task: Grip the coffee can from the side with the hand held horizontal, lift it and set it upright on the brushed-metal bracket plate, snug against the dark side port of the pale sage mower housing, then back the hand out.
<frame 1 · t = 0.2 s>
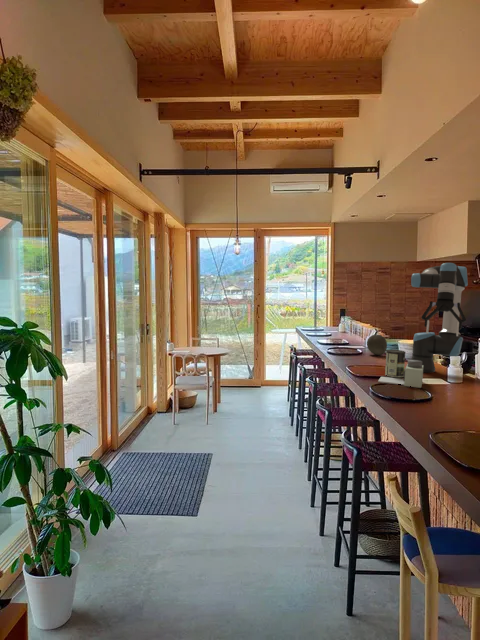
hand: (441, 334, 221), 27 cm above the bar counter, tool tilted 15°, fingers open, 13 cm apart
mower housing: (405, 382, 235), on the bar counter
coffee can: (394, 375, 253), on the bar counter
cantaloupe: (376, 355, 326), on the bar counter
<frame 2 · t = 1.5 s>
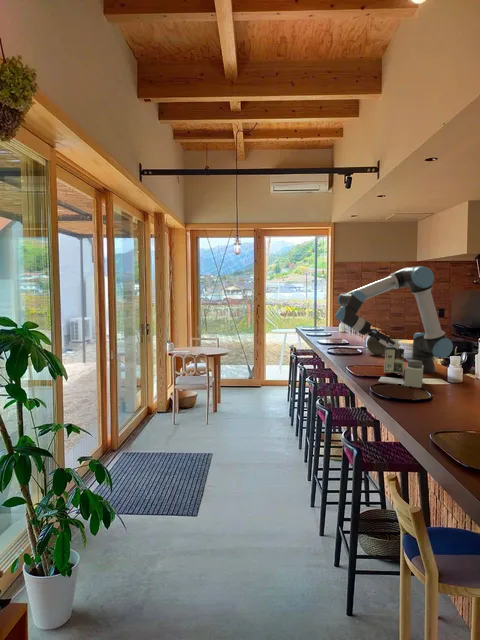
hand: (394, 346, 246), 17 cm above the bar counter, tool tilted 60°, fingers open, 13 cm apart
coffee can: (392, 373, 254), point 1 cm above the bar counter, touching gripper
everything else where it was.
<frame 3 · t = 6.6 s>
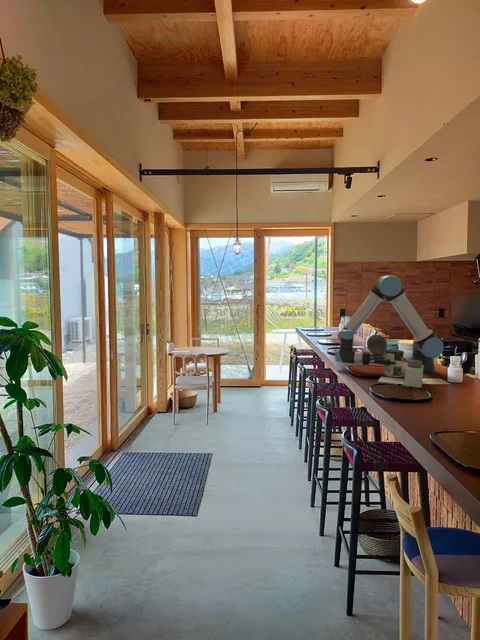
hand: (403, 362, 251), 8 cm above the bar counter, tool horizontal, fingers open, 10 cm apart
coffee can: (392, 375, 254), on the bar counter, touching gripper
everything else where it was.
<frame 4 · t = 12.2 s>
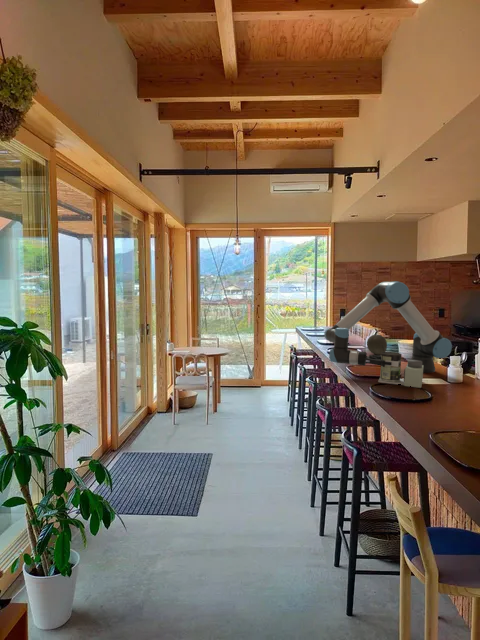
hand: (399, 362, 235), 10 cm above the bar counter, tool horizontal, fingers open, 13 cm apart
coffee can: (389, 380, 238), resting on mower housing
everything else where it was.
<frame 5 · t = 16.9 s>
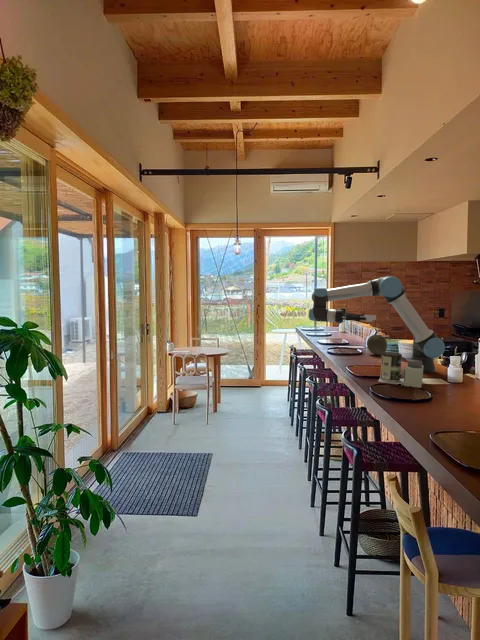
hand: (374, 318, 248), 32 cm above the bar counter, tool horizontal, fingers open, 13 cm apart
nothing on the bar counter moved.
at the end: coffee can 1.0 cm from the target spot on the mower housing, point 0.4 cm above the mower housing's base; coffee can tilted 0°; the gripper is holding nothing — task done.
